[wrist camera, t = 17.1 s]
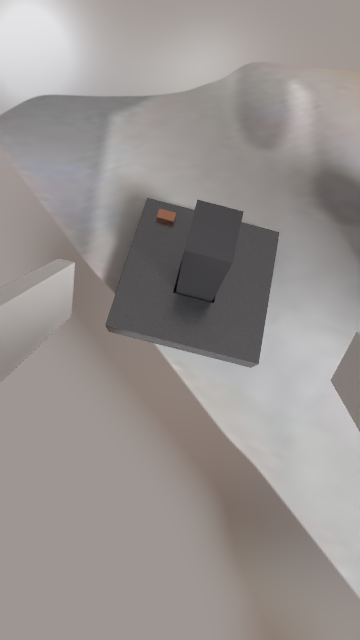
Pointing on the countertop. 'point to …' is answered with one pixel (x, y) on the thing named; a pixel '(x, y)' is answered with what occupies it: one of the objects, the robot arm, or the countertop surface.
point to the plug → (208, 250)
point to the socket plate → (186, 312)
